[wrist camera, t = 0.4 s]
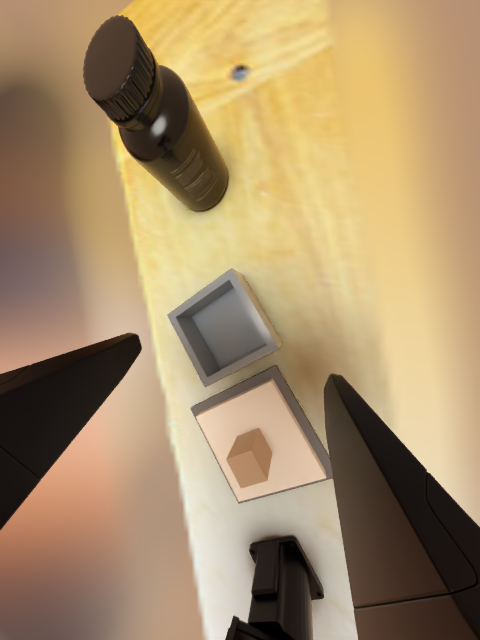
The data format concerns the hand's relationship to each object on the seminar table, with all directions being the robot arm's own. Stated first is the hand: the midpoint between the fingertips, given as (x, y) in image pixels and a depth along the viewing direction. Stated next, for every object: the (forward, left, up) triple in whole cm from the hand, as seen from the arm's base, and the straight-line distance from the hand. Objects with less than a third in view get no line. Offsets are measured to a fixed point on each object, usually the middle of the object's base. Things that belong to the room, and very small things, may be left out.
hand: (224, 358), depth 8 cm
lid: (-10, +8, -13) cm, 18 cm away
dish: (+3, +4, -14) cm, 14 cm away
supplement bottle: (+20, -2, -14) cm, 24 cm away
